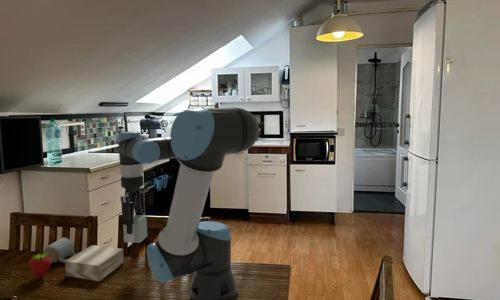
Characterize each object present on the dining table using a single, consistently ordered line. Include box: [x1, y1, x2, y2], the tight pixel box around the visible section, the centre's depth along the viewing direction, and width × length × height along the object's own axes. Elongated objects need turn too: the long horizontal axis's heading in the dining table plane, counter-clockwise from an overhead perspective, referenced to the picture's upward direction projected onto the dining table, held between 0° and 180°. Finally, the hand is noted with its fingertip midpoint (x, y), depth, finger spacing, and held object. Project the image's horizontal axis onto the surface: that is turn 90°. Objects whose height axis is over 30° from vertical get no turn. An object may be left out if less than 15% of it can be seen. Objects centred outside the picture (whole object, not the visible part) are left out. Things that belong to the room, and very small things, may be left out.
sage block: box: [122, 214, 148, 244], centre depth 122 cm, size 6×6×8 cm
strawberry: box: [28, 251, 52, 279], centre depth 120 cm, size 6×8×10 cm
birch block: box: [64, 244, 125, 282], centre depth 127 cm, size 14×14×6 cm
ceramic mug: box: [43, 237, 76, 264], centre depth 134 cm, size 11×8×8 cm
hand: (135, 238), depth 123 cm, fingers closed on sage block, 6 cm apart
